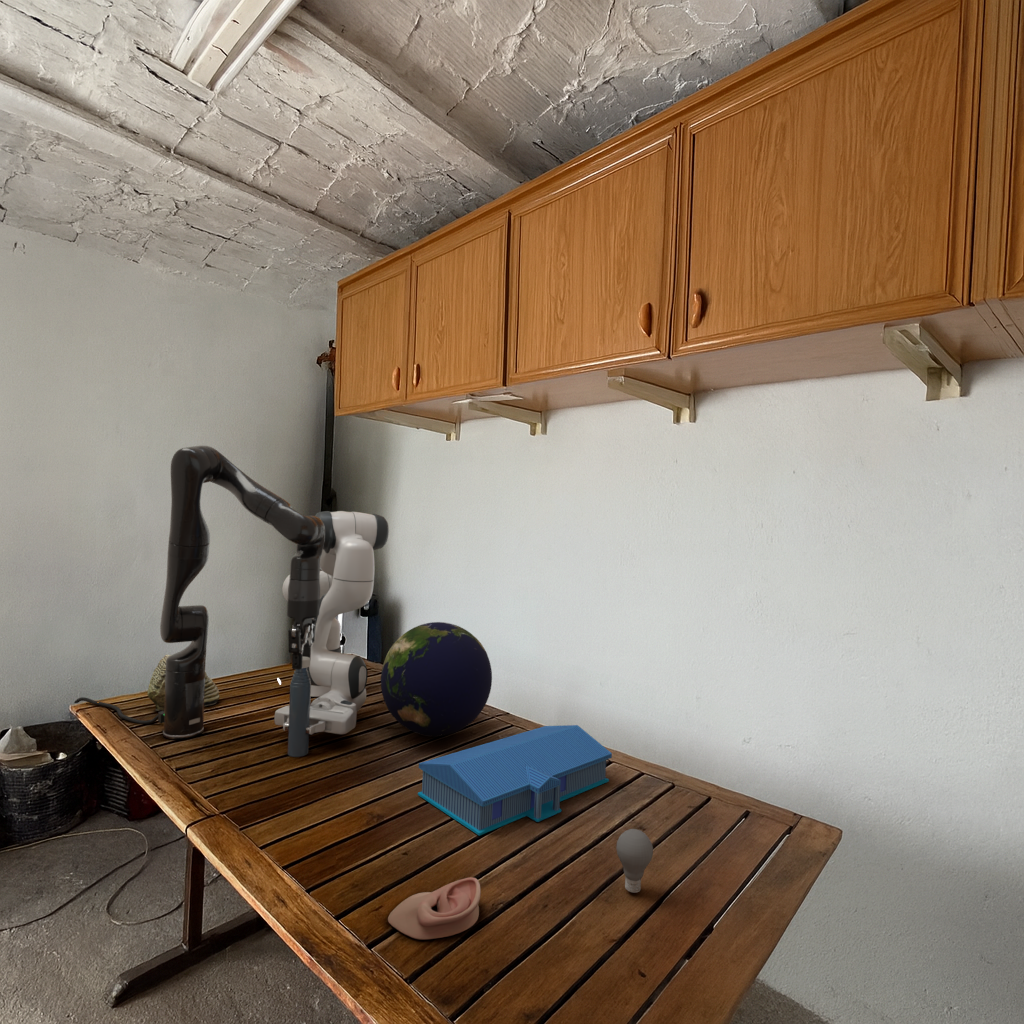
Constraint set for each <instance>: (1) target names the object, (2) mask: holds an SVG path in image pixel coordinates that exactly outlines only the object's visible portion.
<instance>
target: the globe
mask: <svg viewBox="0 0 1024 1024" xmlns="http://www.w3.org/2000/svg"><path fill="white" fill-rule="evenodd" d="M380 673H381V674H380V688H381V689H380V690H381V694H382V697H383V701H384V703H385V706H386V708H387V710H388V711H389V713H390V715H391V716H392V717H393V718H394V719H395V721H397V722H398V723H399V724H400V725H401V726H402V727H404V728H405V729H406V730H409V731H410V732H412V733H415V734H417V735H421V736H424V737H443V736H444V737H445V736H449V735H452V734H455V733H457V732H459V731H461V730H464V729H465V728H467V727H468V726H469V725H470V724H472V723H473V722H474V721H475V720H476V719H477V718H478V717H479V716H480V714H481V713H482V711H483V710H484V708H485V706H486V704H487V702H488V700H489V698H490V694H491V690H492V684H493V683H492V682H493V671H492V666H491V660H490V658H489V656H488V652H487V651H486V649H485V647H484V645H483V644H482V643H481V642H480V640H479V639H478V638H477V637H476V636H475V635H473V634H472V633H471V632H469V631H468V630H467V629H466V628H463V627H461V626H460V625H457V624H453V623H450V622H445V621H434V622H432V621H431V622H428V623H423V624H419V625H416V626H415V627H413V628H411V629H409V630H407V631H406V632H404V633H403V634H402V635H401V636H399V637H398V638H397V639H396V641H395V642H394V643H392V645H391V647H390V648H389V650H388V652H387V653H386V656H385V658H384V660H383V664H382V668H381V672H380Z"/></svg>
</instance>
